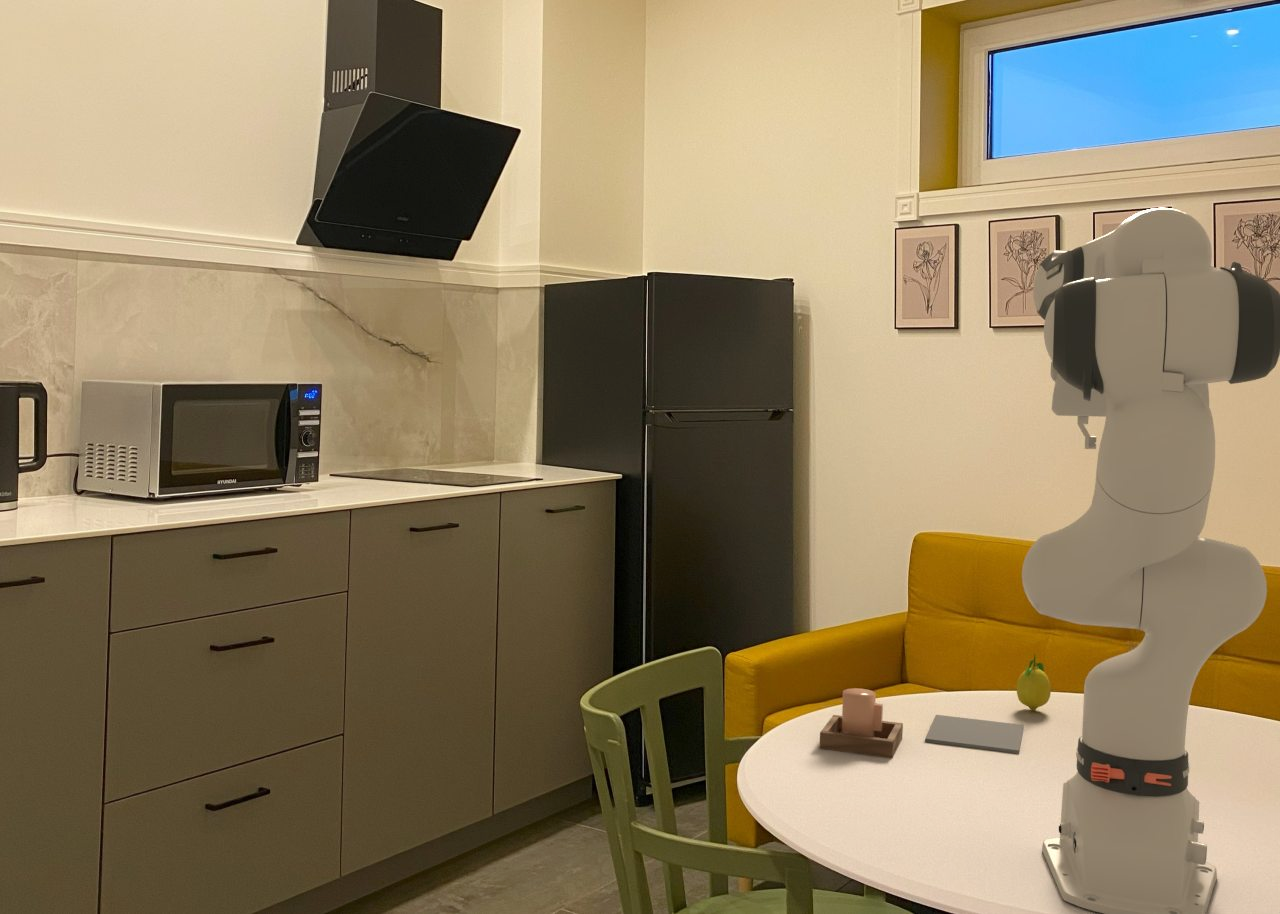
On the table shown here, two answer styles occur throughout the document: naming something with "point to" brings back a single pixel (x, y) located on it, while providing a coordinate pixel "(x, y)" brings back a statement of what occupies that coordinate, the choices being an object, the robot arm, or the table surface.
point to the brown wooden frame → (862, 739)
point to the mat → (975, 733)
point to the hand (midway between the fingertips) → (1126, 450)
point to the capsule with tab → (861, 712)
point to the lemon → (1033, 686)
